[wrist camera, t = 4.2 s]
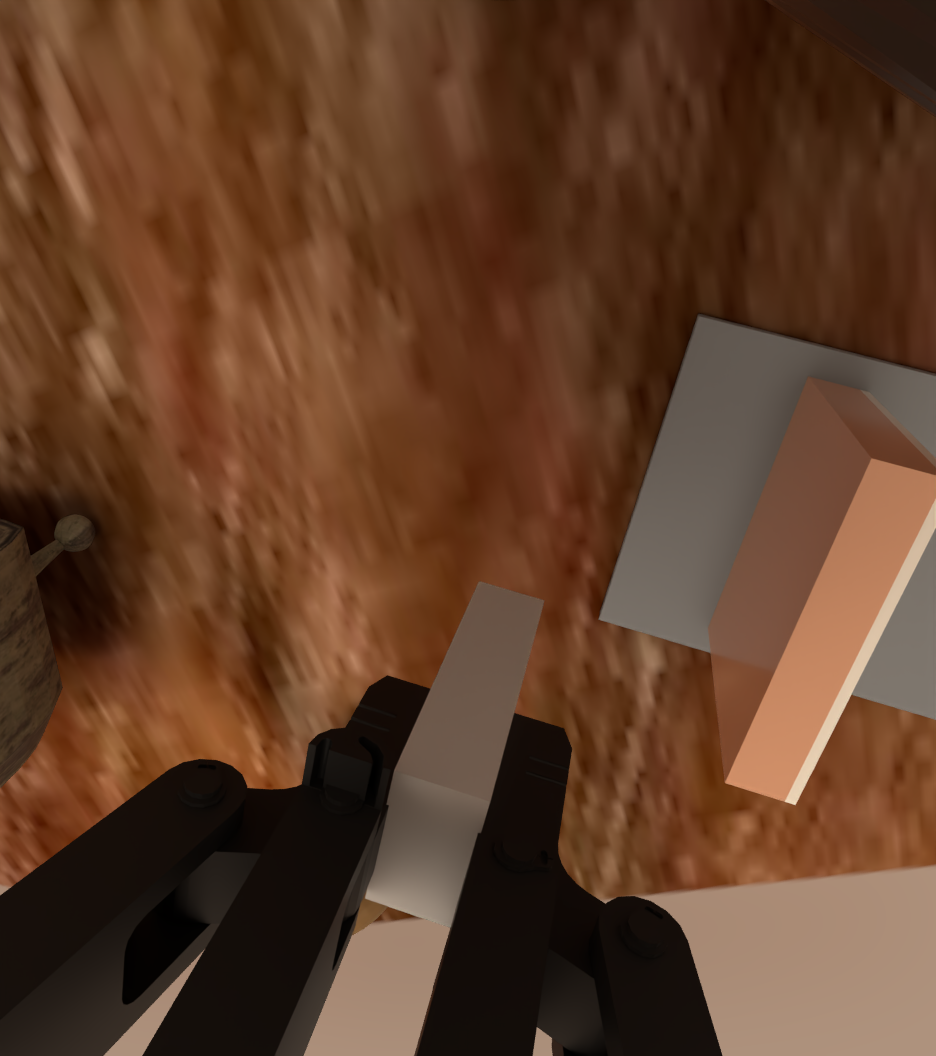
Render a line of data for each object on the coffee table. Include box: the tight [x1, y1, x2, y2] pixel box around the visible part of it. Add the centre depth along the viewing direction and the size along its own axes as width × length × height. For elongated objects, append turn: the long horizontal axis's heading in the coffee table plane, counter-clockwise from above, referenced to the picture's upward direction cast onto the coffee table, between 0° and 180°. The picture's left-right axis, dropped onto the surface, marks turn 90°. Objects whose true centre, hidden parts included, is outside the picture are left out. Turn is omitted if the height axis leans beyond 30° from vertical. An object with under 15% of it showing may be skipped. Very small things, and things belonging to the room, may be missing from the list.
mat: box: [599, 314, 936, 720], centre depth 29 cm, size 16×12×1 cm
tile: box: [708, 376, 936, 805], centre depth 25 cm, size 2×10×9 cm, turn 167°
